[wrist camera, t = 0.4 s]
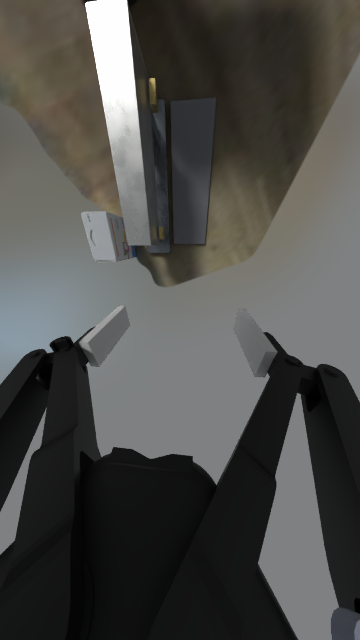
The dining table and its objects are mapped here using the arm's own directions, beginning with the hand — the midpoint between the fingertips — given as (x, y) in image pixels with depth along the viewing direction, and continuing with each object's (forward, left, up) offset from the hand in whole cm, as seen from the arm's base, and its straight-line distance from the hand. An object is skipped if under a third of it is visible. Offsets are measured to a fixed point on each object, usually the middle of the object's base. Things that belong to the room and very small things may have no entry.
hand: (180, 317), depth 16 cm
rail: (-17, -8, -18) cm, 26 cm away
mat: (-18, 0, -26) cm, 32 cm away
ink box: (-8, -17, -27) cm, 33 cm away
